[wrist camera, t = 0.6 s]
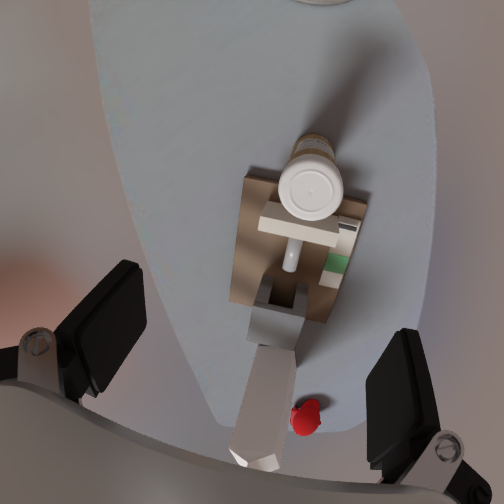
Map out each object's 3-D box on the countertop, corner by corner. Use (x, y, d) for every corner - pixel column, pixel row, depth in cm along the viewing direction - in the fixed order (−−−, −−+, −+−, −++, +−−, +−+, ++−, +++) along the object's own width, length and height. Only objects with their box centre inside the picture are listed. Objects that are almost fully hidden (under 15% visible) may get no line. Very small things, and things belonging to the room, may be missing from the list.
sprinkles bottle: (286, 161, 32) (266, 204, 21) (304, 125, 30) (295, 147, 19) (322, 180, 33) (323, 233, 21) (342, 145, 30) (356, 180, 19)
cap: (314, 432, 54) (327, 436, 49) (288, 435, 53) (298, 440, 48) (314, 396, 57) (326, 397, 52) (287, 399, 56) (297, 400, 51)
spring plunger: (267, 200, 34) (259, 216, 30) (357, 221, 32) (362, 239, 29) (258, 250, 37) (251, 270, 33) (342, 269, 36) (343, 291, 32)
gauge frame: (246, 174, 34) (228, 196, 28) (365, 201, 33) (376, 230, 26) (231, 295, 44) (215, 332, 37) (326, 317, 42) (324, 357, 36)
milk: (263, 367, 51) (232, 482, 32) (257, 344, 48) (220, 468, 29) (297, 368, 49) (276, 488, 30) (294, 345, 46) (270, 476, 28)
